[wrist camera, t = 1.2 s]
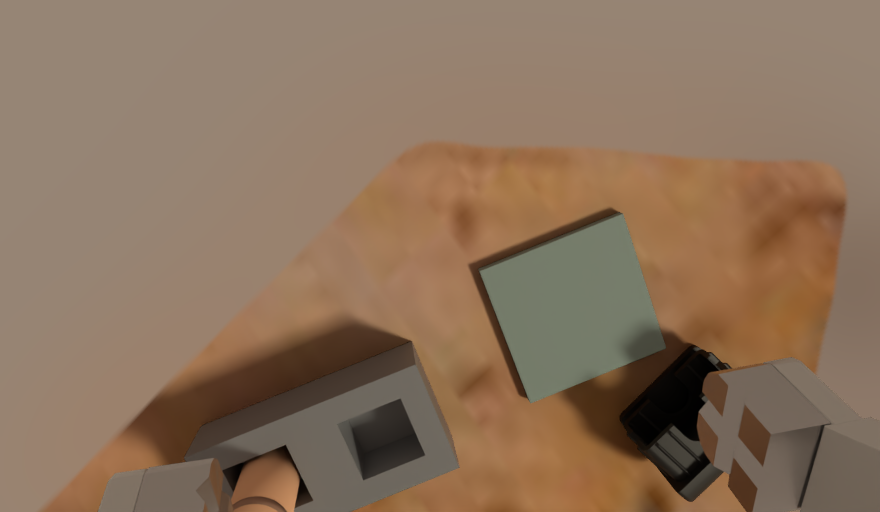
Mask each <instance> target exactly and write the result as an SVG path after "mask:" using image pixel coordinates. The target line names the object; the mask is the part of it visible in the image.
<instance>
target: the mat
mask: <svg viewBox="0 0 880 512" xmlns="http://www.w3.org/2000/svg"><path fill="white" fill-rule="evenodd" d="M478 270H479V273H480V275H481V278H482V280H483V283H484V286H485V288H486V291H487V293H488V296H489V299H490V301H491V304H492V306H493V309H494V312H495V314H496V317H497V319H498V322H499V325H500V327H501V330H502V332H503V335H504V337H505V340H506V343H507V345H508V348H509V350H510V353H511V356H512V358H513V361H514V363H515V366H516V369H517V371H518V374H519V376H520V379H521V382H522V384H523V387H524V389H525V392H526V395H527V397H528V400H529V402H530V403H533V402H535V401H538V400H540V399H542V398H545V397H547V396H550V395H552V394H555V393H557V392H560V391H562V390H565V389H567V388H570V387H572V386H575V385H577V384H580V383H582V382H584V381H587V380H589V379H592V378H594V377H597V376H599V375H602V374H604V373H607V372H609V371H612V370H614V369H617V368H619V367H622V366H624V365H626V364H629V363H631V362H634V361H636V360H639V359H641V358H644V357H646V356H649V355H651V354H654V353H656V352H659V351H661V350H663V349H666V346H665V343H664V340H663V336H662V333H661V330H660V327H659V324H658V321H657V318H656V315H655V312H654V308H653V305H652V302H651V299H650V296H649V293H648V290H647V287H646V283H645V280H644V277H643V274H642V271H641V268H640V265H639V262H638V259H637V255H636V252H635V249H634V246H633V243H632V240H631V237H630V234H629V231H628V227H627V224H626V221H625V218H624V215H623V213H620V212H619V213H616V214H614V215H611V216H609V217H606V218H604V219H601V220H599V221H596V222H594V223H591V224H589V225H586V226H584V227H581V228H579V229H576V230H574V231H571V232H569V233H566V234H564V235H561V236H559V237H556V238H554V239H551V240H549V241H546V242H544V243H541V244H539V245H536V246H534V247H531V248H529V249H526V250H524V251H521V252H519V253H516V254H514V255H511V256H509V257H507V258H504V259H502V260H499V261H497V262H494V263H492V264H489V265H487V266H484V267H482V268H479V269H478Z"/></svg>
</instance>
